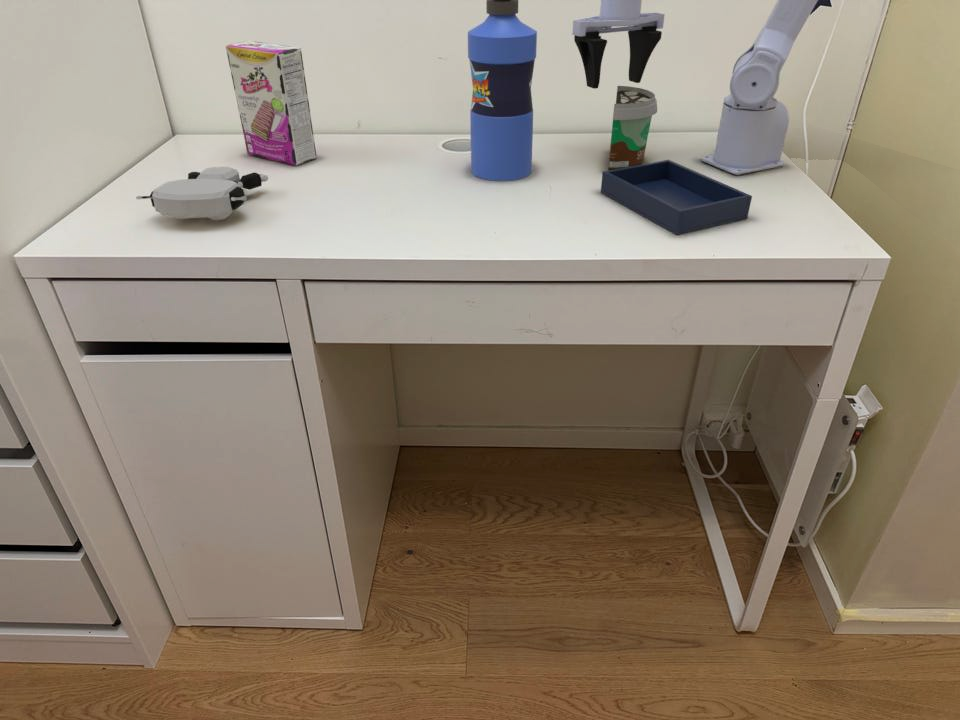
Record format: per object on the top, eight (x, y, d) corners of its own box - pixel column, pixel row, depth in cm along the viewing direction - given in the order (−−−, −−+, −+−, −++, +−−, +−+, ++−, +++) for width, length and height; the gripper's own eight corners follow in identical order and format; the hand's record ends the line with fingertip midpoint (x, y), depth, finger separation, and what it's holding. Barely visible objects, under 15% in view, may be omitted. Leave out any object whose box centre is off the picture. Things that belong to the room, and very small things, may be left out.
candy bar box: (245, 156, 110) (222, 45, 101) (268, 147, 114) (249, 39, 105) (295, 167, 105) (277, 51, 96) (318, 158, 109) (302, 46, 100)
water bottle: (514, 157, 108) (517, -24, 94) (544, 175, 101) (552, -19, 87) (460, 166, 105) (455, -21, 91) (487, 185, 98) (485, -14, 84)
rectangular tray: (665, 180, 99) (668, 159, 97) (747, 218, 87) (752, 195, 85) (600, 192, 95) (602, 171, 93) (676, 235, 83) (680, 211, 81)
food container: (650, 177, 100) (659, 106, 94) (607, 175, 101) (614, 104, 95) (650, 152, 110) (658, 86, 104) (611, 150, 111) (617, 84, 105)
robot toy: (192, 194, 98) (140, 228, 85) (186, 162, 96) (131, 192, 83) (276, 195, 98) (236, 230, 85) (271, 163, 95) (230, 194, 82)
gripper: (647, -23, 102) (637, 74, 110) (563, -18, 97) (558, 84, 105) (678, -19, 97) (665, 83, 104) (591, -13, 92) (583, 93, 99)
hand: (613, 84), depth 104 cm, fingers open, 7 cm apart
